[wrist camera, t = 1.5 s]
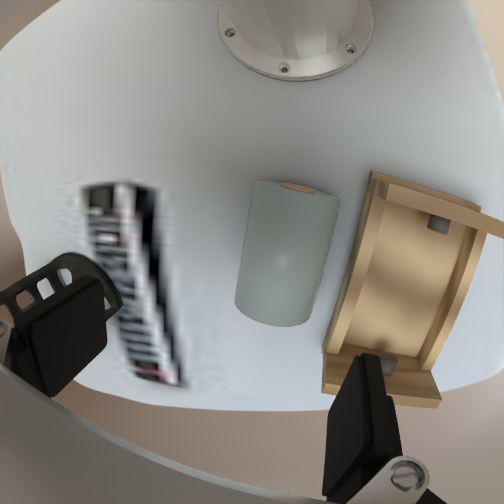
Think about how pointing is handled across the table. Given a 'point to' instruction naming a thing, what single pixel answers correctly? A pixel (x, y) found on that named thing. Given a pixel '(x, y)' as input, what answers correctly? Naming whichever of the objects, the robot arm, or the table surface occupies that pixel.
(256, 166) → the table surface
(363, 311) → the cradle
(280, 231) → the roll
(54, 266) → the holder
